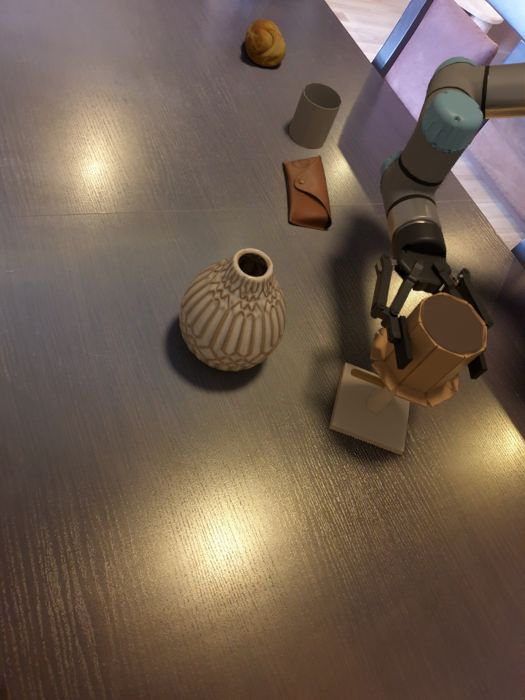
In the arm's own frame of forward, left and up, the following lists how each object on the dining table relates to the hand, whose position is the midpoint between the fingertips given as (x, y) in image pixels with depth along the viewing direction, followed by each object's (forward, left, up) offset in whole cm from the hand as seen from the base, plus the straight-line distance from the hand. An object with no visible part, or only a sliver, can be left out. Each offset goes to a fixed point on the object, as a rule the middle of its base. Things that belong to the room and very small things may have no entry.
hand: (442, 369), depth 72 cm
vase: (+27, -6, -21) cm, 35 cm away
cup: (+26, -65, -21) cm, 73 cm away
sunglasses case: (+22, -47, -21) cm, 56 cm away
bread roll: (+43, -88, -21) cm, 100 cm away
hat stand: (+1, -4, -21) cm, 22 cm away
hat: (+1, -4, -6) cm, 7 cm away
